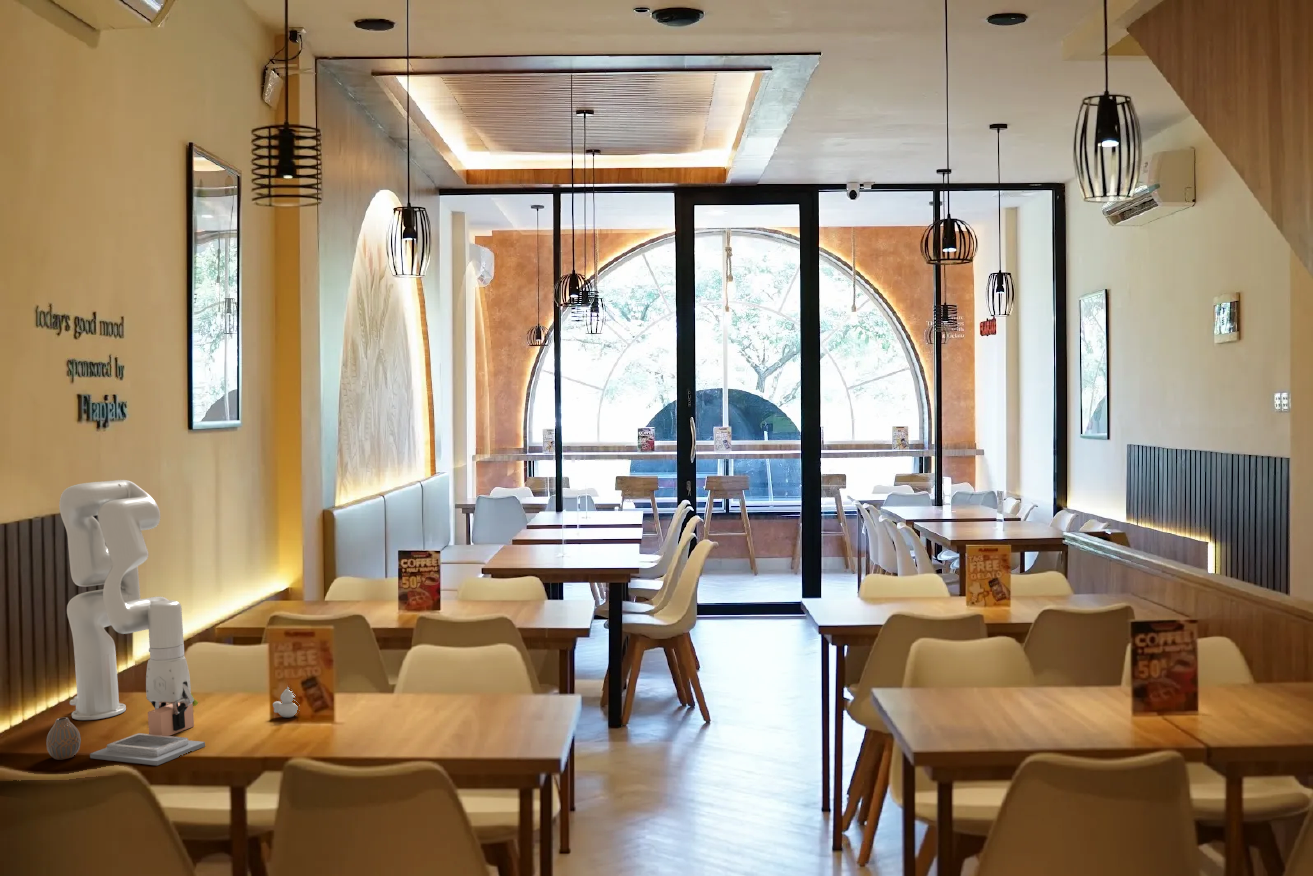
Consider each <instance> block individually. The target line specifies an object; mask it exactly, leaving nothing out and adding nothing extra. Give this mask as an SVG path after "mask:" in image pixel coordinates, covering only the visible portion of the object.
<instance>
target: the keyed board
mask: <svg viewBox="0 0 1313 876" xmlns="http://www.w3.org/2000/svg"><path fill="white" fill-rule="evenodd" d="M205 747H206V742H205V741H199V740H191V739H190V740H189V737H182V736H172V735H170V736H163V735H153V734H149V733H141V732H138V733H134V734H132V735H130V736H126V737H124V738H121V739H118V740H115V741H113V742H111V743H108V744H106V747H105V748H102V749H100V750H96V751H94V752H91V753H89V758H90V759H95V760H105V761H112V762H113V761H114V762H123V763H129V764H139V765H140V764H142V765H150V766H160V765H162V764H165V763H167V762H170V761H172V760H175V759H177V758H180V757H181V756H180V755H182V756H184V755H183V754H185V753H187V754H189V753H188V752H190V751H192V752H195V751H197V750H199V749H202V748H205ZM190 753H191V752H190ZM185 755H186V754H185ZM179 756H180V757H179Z"/></svg>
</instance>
